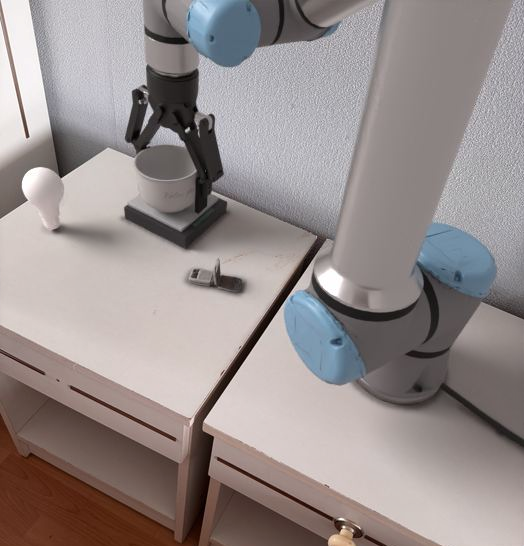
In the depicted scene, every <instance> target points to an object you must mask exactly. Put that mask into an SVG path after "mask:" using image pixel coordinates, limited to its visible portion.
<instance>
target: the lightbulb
mask: <svg viewBox="0 0 524 546" xmlns="http://www.w3.org/2000/svg"><path fill="white" fill-rule="evenodd" d="M21 181H22V182H21V189H22V193H23V195H24V197H25V198H26V200H27V201H28V202H29V203H30V204H32V205H33V206H34V207H35V209H36V210H37V212H38V215H39V217H40V218H41V219H42V223H43V226H44V228H46V229H48V230H56V229H58V228H59V227H60V226H61V220H60V213H61V212H60V205H61V202H62V200H63V197H64V194H65V186H64V185H65V184H64V183H63V180H62V178H61V176H59V174H58V173H57V172H55V171H54V170H52V169H50V168H48V167H42V166H39V167H34V168H31V169H30V170H28V171H27V172H26V173H25V174H24V176H23V178H22V180H21Z"/></svg>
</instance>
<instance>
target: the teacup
mask: <svg viewBox="0 0 524 546" xmlns="http://www.w3.org/2000/svg"><path fill="white" fill-rule="evenodd" d="M133 168H134V171H135V177H136V184H137V189H138V194H140V195H141V197H142V199H143V200H144V201H145V203H147V204H148V205H149V206H151V207H153V208H155V209H157V210H159V211H162V212H168V213H173V212H179V211H182V210H184V209H186V208H187V207H189V206H190V205H192V204H193V203H194V202H195V183H196V178H198V177H199V175H198V172H197V170H196V168H195V166H194V163H193V161H192V159H191V157H190V155H189V152H188V150H187V148H186V146H185V145H184V146H181V145H177V144H176V145H175V144H157V145H153V146H150V147H149V148H147V149H144V150H142V151H141V152H139V153H138V154H137V155H136V154H135V157H134V159H133Z"/></svg>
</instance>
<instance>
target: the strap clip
mask: <svg viewBox="0 0 524 546" xmlns="http://www.w3.org/2000/svg"><path fill="white" fill-rule="evenodd" d="M220 263H221V260H220V258H219V257H217V258H216V260H215V262H214V266H213V270H210V269H206V268H201V267H193V268H192V269H191V271H190V272H189V273H190V274H189V276H188V281H189V283H192V284H194V285H197V286H203V287H211V286H213V284H214V285H215V286H216V287H217V288H218V289H219V290H224V291H228V292H231V293H237V292H240V290H241V287H242V283H243V279H242V278H240V277H237V276H231V275H224V274H222V275H221V264H220ZM194 274H197V276H196V278H195V277H193V276H194ZM235 282H239V284H238V287H237V288H234V284H235Z"/></svg>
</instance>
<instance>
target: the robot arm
mask: <svg viewBox="0 0 524 546" xmlns="http://www.w3.org/2000/svg"><path fill="white" fill-rule="evenodd" d="M380 1H381V0H142V8H143V9H142V10H143V11H142V14H143V28H144V29H143V33H144V34H143V35H144V60H145V62H146V66H145V77H146V84H142V85H140V86H137V87H136V88H134V89H133V90H131V100H132V105H131V109H130V114H129V118H128V123H127V127H126V130H125V135H124V140H125V142H126V143H127V144H131V145H132V146H133V148H134V150H135V156H136V155H137V154H138V153H139V152H141V151H142V150H144V149H147V148H149V147H151V146H150V144H152V142H151V141H152V139H153V138H154V137H155V135H156V134H157V133H158V131H159V130H160V128H161V127H162V128H164V129H169V130H171V131H172V132H173V133H176V134H177V135H178V138H179V139H180V141H181V142H183V144H184V146H186V148H187V150H188V152H189V155H190V157H191V159H192V161H193V163H194V166H195V168H196V170H197V172H198V175H199V177H198V178H196V183H195V212H196V213H198V214H199V213H200V212H201V211H202V210H203V209H205V208H206V207H207V199H208V196H209V195H210V194H212V192H213V183H216V182H217V181H219V179H221V178H222V177H224V174H225V172H224V167H223V163H222V157H221V154H220V149H219V144H218V140H217V135H216V129H215V127H216V116H215V114H214V113H208V114H204V113H202V112H201V111H199V108H198V105H197V99H198V96H199V91H200V90H199V87H200V85H199V83H200V71H199V68H198V67H199V66H200V56H203V57H204V58H206V59H209V60H210V61H211V62H213V63H214V64H215V65H217V66H220V67H222V68H235V67H238V66H240V65H242V63H244V62H245V61H246V60H247V59H250V58H251V57H252V55H253V54H254V52H255V51H256V49H259V48H264V47H271V46H276V45H283V44H284V45H285V44H291V43H297V42H298V43H299V42H307V43H308V42H309V43H310V42H315V41H317V40H320V39H323V38H327V37H329V36H332V35H333V34H335V32H336V31H337V30H338V28H339V26H340V24H341V23H342V22H343V20H345V19H347V18H349V17H351V16H353V15H355V14H357V13H359V12H360V11H363V10H364V9H367V8H368V7H370V6H372V5H374V4H376V3H378V2H380ZM514 2H515V0H384V3H383V8H382V11H381V17H380V21H379V26H378V31H377V35H376V40H375V45H374V49H373V54H372V58H371V63H370V69H369V73H368V77H367V81H366V88H365V91H364V96H363V100H362V104H361V105H362V106H361V111H360V114H359V120H358V124H357V129H356V134H355V138H354V144H353V147H352V153H351V156H350V157H351V158H350V162H349V166H348V171H347V175H346V181H345V185H344V190H343V194H342V199H341V203H340V209H339V214H338V219H337V223H336V228H335V231H334V236H333V241H332V243H330V244H328V245H327V246H325V247H323V248H322V249H321V250H320V251H319V252H318V254H317V255H316V257H315V259H314V262H313V268H312V272H311V277H310V282H309V285H308V287H306V288H305V289H299V290H297V291H295V292H294V293H292V294H291V295H290V296H289V297H287V299H286V301H285V303H284V306H283V321H284V325H285V329H286V333H287V335H288V338H289V341H290V342H291V344H292V347H293V349H294V351H295V352H296V354H297V356H298V357H299V359H300V360H301V361H302V363H303V364H304V366H305V367H306V368H307V369H308V370H309V371H310V372H311V373H312V374H313V375H314V376H315V377H317V379H319V380H321V381H322V382H324V383H326V384H327V385H328V384H329V385H334V386H339V387H340V386H344V385H347V384H349V383H351V382H354V381H355V382H356V384H358V386H359V387H360V388H362V389H363V390H364V391H365V392H367V393H369V394H370V395H371V396H373V397H375V398H377V399H380V400H382V401H384V402H388V403H391V404H396V405H415V404H419V403H422V402H425V401H427V400H429V399H430V398H433V396H434V395H435V394H437V392H438V390H439V389H440V390H442V391H443V392H445V393H446V394H447V395H449V396H450V397H451V398H453V399H454V400H455V401H457V402H458V403H460V404H461V405H463V407H465V408H467V409H468V411H470V412H472V413H473V414H474V415H476V416H477V417H478V418H480V419H481V420H483V422H485V423H487V424H488V425H489V426H491V427H492V428H494V429H495V430H496V431H498V432H499V433H501V434H502V435H504V436H506V437H507V438H509V439H510V440H511V441H514V442H515V443H517V444H518V445H520V446H521V447H522V448H524V438H522V437H521V436H519V435H518V434H516V432H514V431H512V430H510V429H508V428H507V427H505V426H504V425H503V424H501V423H500V422H499V421H497V420H495V419H494V418H492V417H491V416H490V415H488V414H487V413H485V412H484V411H482V410H481V409H480V408H478V407H477V406H476V405H475V404H473V403H471V401H469V400H468V399H466V398H465V397H463V395H461V394H460V393H458V392H457V391H456V390H454V389H453V388H451V387H450V386H449V385H447V384H446V383H444V381H445V380H446V376H447V373H448V369H449V361H450V354H451V348H452V346H453V345H454V344H455V342H456V340H457V339H458V338H459V336H460V335H461V333H462V332H463V330H464V328H465V327H467V324H468V323H469V321H470V320H471V318H472V317H473V316H474V314H475V313H476V312H477V310H478V308H479V307H480V305H481V304H482V302H483V301H484V299H485V298H486V297H488V296H489V294H490V292H491V288H492V286H493V284H494V283H495V281H496V279H497V277H498V276H497V275H498V266H497V264H496V259H495V257H494V255H493V254H492V252H491V251H490V250H489V249H488V247H487V246H486V245H485V244H484V243H482V241H480V240H479V239H478V238H477V237H475V236H473V235H472V234H470V233H469V232H466V231H464V230H462V229H461V228H458V227H456V226H452V225H449V224H446V223H443V222H437V221H436V222H435V221H433V220H434V217H435V215H436V212H437V210H438V206H439V203H440V201H441V198H442V195H443V193H444V190H445V188H446V185H447V183H448V180H449V177H450V174H451V171H452V169H453V166H454V164H455V160H456V157H457V155H458V152H459V149H460V147H461V144H462V142H463V138H464V136H465V133H466V131H467V128H468V126H469V123H470V121H471V117H472V115H473V112H474V109H475V107H476V104H477V102H478V98H479V96H480V92H481V90H482V88H483V85H484V82H485V79H486V77H487V74H488V73H489V69H490V66H491V64H492V62H493V59H494V56H495V53H496V50H497V47H498V45H499V42H500V39H501V37H502V34H503V31H504V29H505V26H506V24H507V21H508V18H509V15H510V13H511V10H512V7H513V4H514ZM148 106H150V108H151V110H152V114H151V115H150V117H149V119H148V120H147V124H145V126H144V128H143V125H144V121H145V117H146V114H147V110H148ZM142 129H143V130H142ZM188 129H189V130H188ZM186 130H188V131H186Z"/></svg>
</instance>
